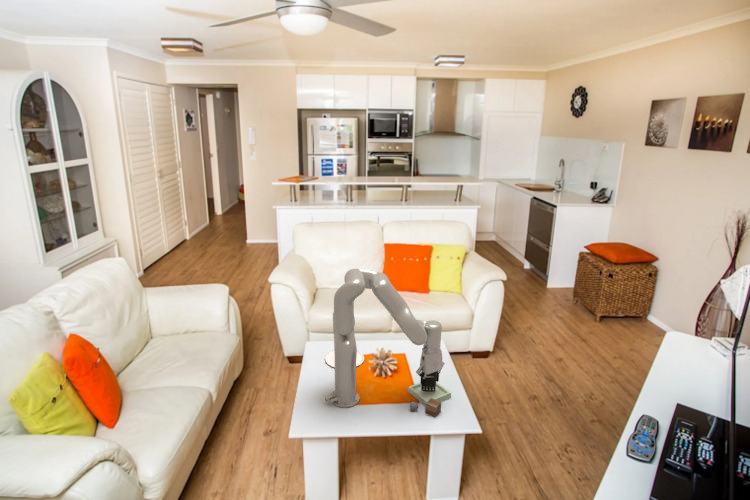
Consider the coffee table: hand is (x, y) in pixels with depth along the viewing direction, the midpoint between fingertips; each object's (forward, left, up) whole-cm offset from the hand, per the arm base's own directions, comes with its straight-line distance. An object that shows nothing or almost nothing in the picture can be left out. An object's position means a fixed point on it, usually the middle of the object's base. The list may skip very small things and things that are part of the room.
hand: (429, 382), depth 204 cm
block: (-7, -11, -7) cm, 15 cm away
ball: (-13, -5, -7) cm, 15 cm away
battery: (0, 0, -5) cm, 5 cm away
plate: (-18, +48, -7) cm, 52 cm away
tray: (0, 0, -7) cm, 7 cm away
